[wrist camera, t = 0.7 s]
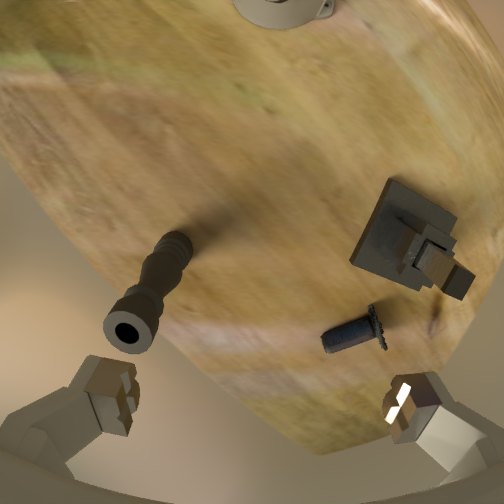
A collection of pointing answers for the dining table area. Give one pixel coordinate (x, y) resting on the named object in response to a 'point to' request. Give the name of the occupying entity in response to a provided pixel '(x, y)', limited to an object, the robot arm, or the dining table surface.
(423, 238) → the stand
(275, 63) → the dining table surface
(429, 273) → the column
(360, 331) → the dark flanged cylinder
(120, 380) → the robot arm
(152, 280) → the candle holder
